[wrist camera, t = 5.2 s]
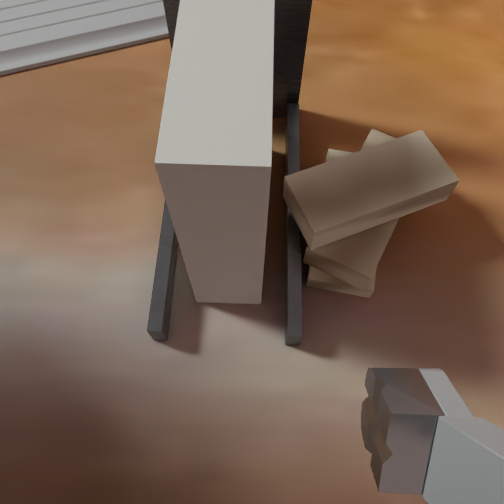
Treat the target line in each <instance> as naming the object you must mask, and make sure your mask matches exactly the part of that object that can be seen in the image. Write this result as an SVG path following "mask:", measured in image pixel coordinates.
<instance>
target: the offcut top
mask: <svg viewBox="0 0 504 504" xmlns="http://www.w3.org/2000/svg"><path fill="white" fill-rule="evenodd" d="M458 182H459V179H458V177H457V176H456V175H455V173H454V172H453V171H452V169H451V168H450V167H449V165H448V164H447V163H446V161H445V160H444V159H443V157H442V156H441V155H440V153H439V152H438V151H437V149H436V148H435V147H434V145H433V144H432V143H431V141H430V140H429V139H428V137H427V136H426V135H425V133H424V132H423V131H422V130H420V131H417V132H414V133H411V134H408V135H405V136H402V137H399V138H396V139H393V140H390V141H387V142H384V143H381V144H379V145H376V146H373V147H370V148H367V149H364V150H361V151H358V152H355V153H352V154H349V155H346V156H343V157H340V158H337V159H334V160H331V161H329V162H326V163H323V164H320V165H317V166H314V167H311V168H308V169H305V170H302V171H299V172H296V173H293V174H290V175H287V176H284V188H283V198H284V200H285V201H286V203H287V205H288V207H289V209H290V211H291V213H292V215H293V217H294V219H295V221H296V223H297V225H298V227H299V228H300V230H301V232H302V234H303V236H304V238H305V240H306V242H307V244H308V246H309V248H310V250H313V249H316V248H318V247H321V246H324V245H327V244H329V243H332V242H335V241H337V240H340V239H343V238H345V237H348V236H351V235H353V234H356V233H359V232H362V231H364V230H367V229H370V228H372V227H375V226H378V225H380V224H383V223H386V222H388V221H391V220H394V219H397V218H399V217H402V216H405V215H407V214H410V213H413V212H415V211H418V210H421V209H424V208H426V207H429V206H432V205H434V204H437V203H440V202H442V201H445V200H447V199H448V197H449V196H450V194H451V193H452V191H453V189H454V188H455V186H456V185H457V183H458Z"/></svg>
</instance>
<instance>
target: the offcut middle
mask: <svg viewBox="0 0 504 504" xmlns="http://www.w3.org/2000/svg"><path fill="white" fill-rule="evenodd" d="M393 139H396V138H394V137H392V136H389V135H387V134H384V133H382V132H379V131H377V130H374V129H372V130H371V131H370V133H369V135H368V137H367V139H366V140H365V142H364V144H363V146H362V148H361V150H364V149H367V148H370V147H373V146H376V145H379V144H381V143H384V142H387V141H390V140H393ZM361 150H360V151H361ZM399 218H400V217H399ZM399 218H397V219H394V220H391V221H388V222H386V223H383V224H380V225H378V226H375V227H372V228H370V229H367V230H364V231H362V232H359V233H356V234H353V235H351V236H348V237H345V238H343V239H340V240H337V241H335V242H332V243H329V244H327V245H324V246H321V247H318V248H316V249H313V250H310V248H309V246H307V248H306V252H305V256H304V260H303V262H304V263H306V264H308V265H310V266H312V267H314V268H316V269H318V270H320V271H322V272H324V273H326V274H328V275H331V276H333V277H335V278H337V279H339V280H341V281H343V282H345V283H347V284H349V285H351V286H353V287H355V288H358V289H360V290H362V291H364V290H365V288H366V286H367V285H368V283H369V281H370V280H371V278H372V276H373V274H374V272H375V269H376V267H377V265H378V263H379V261H380V259H381V256H382V254H383V252H384V250H385V248H386V246H387V244H388V241H389V239H390V237H391V235H392V233H393V231H394V229H395V226H396V224H397V222H398V220H399Z"/></svg>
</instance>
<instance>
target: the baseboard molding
mask: <svg viewBox="0 0 504 504" xmlns="http://www.w3.org/2000/svg"><path fill="white" fill-rule="evenodd" d="M166 37H169V32H168V27H167V21H166V16H165V10H164V5H163V0H0V76H1V75H6V74H10V73H14V72H19V71H23V70H27V69H32V68H36V67H40V66H45V65H49V64H53V63H58V62H62V61H66V60H71V59H75V58H80V57H84V56H88V55H93V54H97V53H101V52H106V51H110V50H114V49H119V48H123V47H127V46H132V45H136V44H140V43H145V42H149V41H153V40H158V39H162V38H166Z"/></svg>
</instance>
